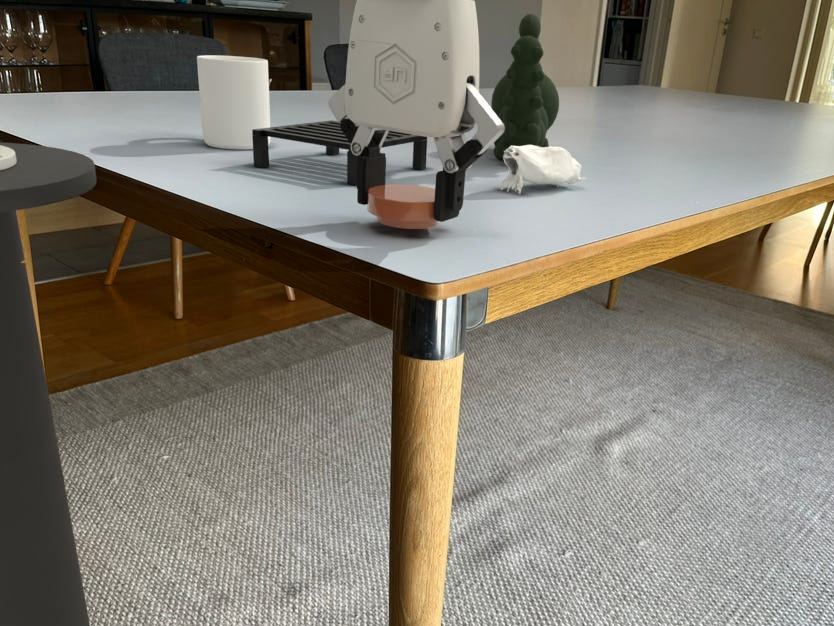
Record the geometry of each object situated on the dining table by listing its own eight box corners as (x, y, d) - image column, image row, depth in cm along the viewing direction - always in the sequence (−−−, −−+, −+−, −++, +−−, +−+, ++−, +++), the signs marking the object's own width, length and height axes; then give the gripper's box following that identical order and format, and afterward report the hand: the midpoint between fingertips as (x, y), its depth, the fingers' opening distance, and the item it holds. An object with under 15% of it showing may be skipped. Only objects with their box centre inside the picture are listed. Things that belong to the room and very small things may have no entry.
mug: (181, 136, 100) (174, 52, 96) (241, 134, 105) (237, 54, 101) (219, 151, 92) (213, 60, 88) (282, 148, 97) (279, 61, 93)
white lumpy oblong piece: (538, 210, 81) (592, 178, 87) (525, 147, 78) (581, 118, 84) (504, 210, 84) (558, 179, 90) (489, 148, 81) (546, 121, 87)
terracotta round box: (420, 236, 61) (421, 206, 60) (350, 220, 63) (351, 191, 62) (461, 221, 66) (463, 194, 65) (395, 207, 69) (397, 180, 68)
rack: (356, 185, 80) (356, 146, 78) (253, 166, 85) (251, 129, 84) (426, 168, 91) (427, 134, 90) (331, 152, 97) (331, 120, 95)
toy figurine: (553, 187, 95) (553, 141, 116) (572, 21, 85) (568, 4, 107) (478, 181, 95) (492, 136, 117) (488, 15, 86) (501, -1, 108)
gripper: (295, -37, 58) (297, 198, 65) (501, -23, 51) (477, 239, 58) (354, -28, 64) (350, 186, 71) (545, -14, 57) (519, 222, 64)
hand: (408, 208), depth 64 cm, fingers closed on terracotta round box, 6 cm apart
